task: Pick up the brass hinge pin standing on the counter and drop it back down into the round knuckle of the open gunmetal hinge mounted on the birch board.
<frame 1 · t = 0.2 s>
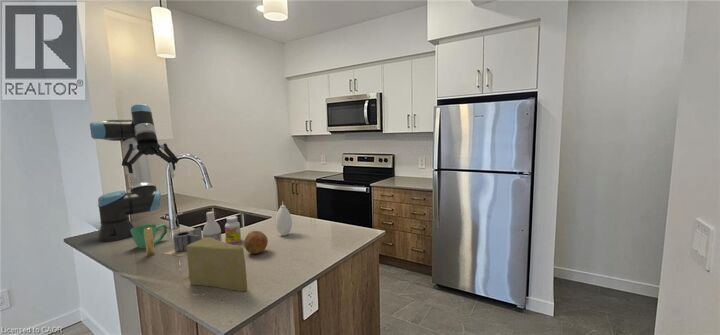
hand: (154, 178, 129), 34 cm above the counter, tool tilted 30°, fingers open, 13 cm apart
onion: (256, 253, 134), on the counter
bath foam: (214, 258, 129), on the counter
hinge knuckle: (184, 248, 137), resting on mounting board
mounting board: (184, 251, 137), on the counter
supplement bottle: (233, 244, 146), on the counter
mug: (151, 247, 145), on the counter
hinge pin: (151, 257, 132), on the counter
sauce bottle: (284, 235, 156), on the counter
cheese: (222, 285, 107), on the counter
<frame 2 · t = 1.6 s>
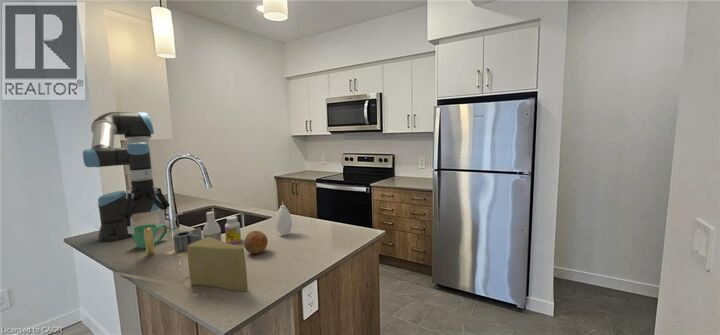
hand: (147, 228, 130), 13 cm above the counter, tool pointing down, fingers open, 13 cm apart
nothing on the counter moved.
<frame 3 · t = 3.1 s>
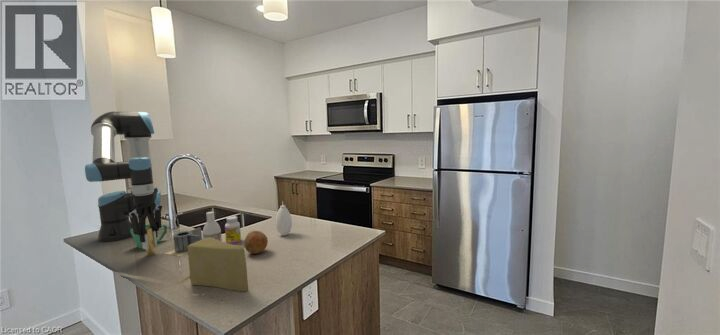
hand: (150, 247, 132), 5 cm above the counter, tool pointing down, fingers closed on hinge pin, 3 cm apart
hinge pin: (151, 257, 132), on the counter, touching gripper
everything else where it was.
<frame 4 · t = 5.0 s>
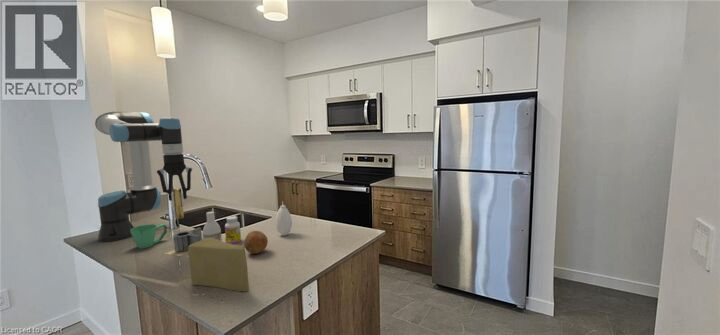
hand: (178, 206, 134), 21 cm above the counter, tool pointing down, fingers closed on hinge pin, 3 cm apart
hinge pin: (180, 217, 135), point 16 cm above the counter, touching gripper
everything else where it was.
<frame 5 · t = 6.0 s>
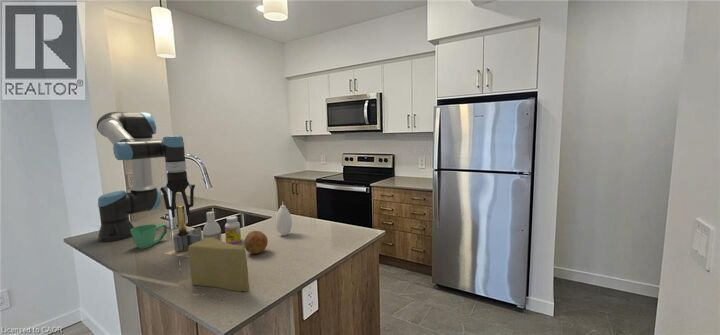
hand: (181, 223, 136), 13 cm above the counter, tool pointing down, fingers closed on hinge pin, 3 cm apart
hinge pin: (183, 234, 136), point 8 cm above the counter, touching gripper
everything else where it was.
when the fingers open (10 cm above the counter, at t = 6.8 s): hinge pin drops 3 cm, resting on mounting board.
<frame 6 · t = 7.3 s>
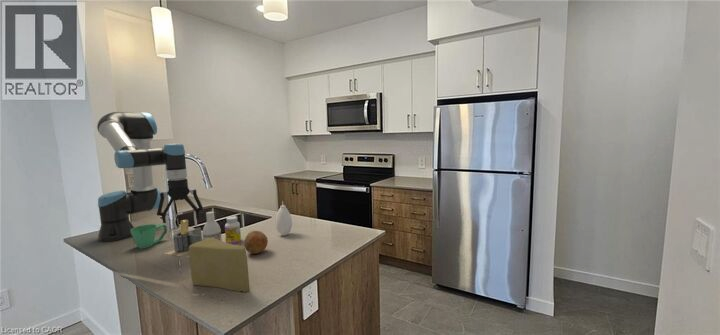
hand: (182, 227, 136), 11 cm above the counter, tool pointing down, fingers open, 10 cm apart
hinge pin: (184, 248, 137), point 1 cm above the counter, tilted 5°, touching mounting board
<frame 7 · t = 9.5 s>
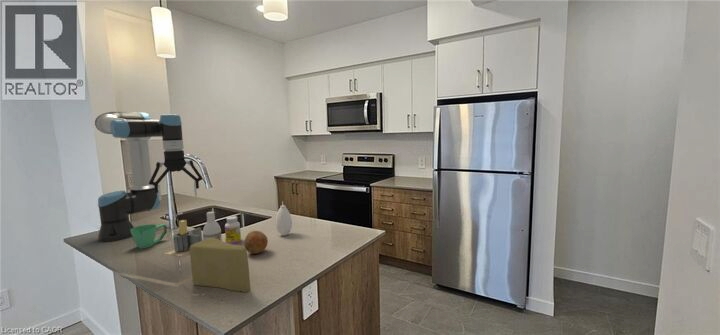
hand: (178, 197, 136), 24 cm above the counter, tool pointing down, fingers open, 13 cm apart
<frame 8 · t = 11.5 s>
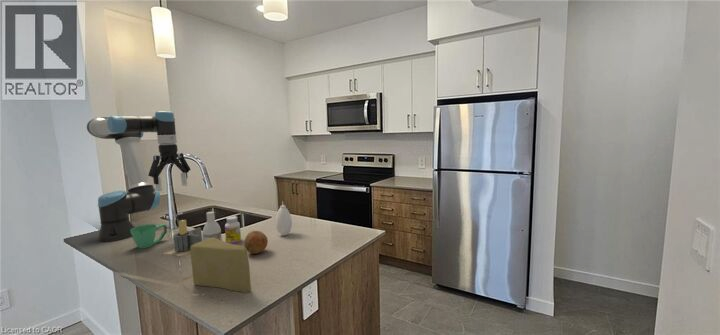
hand: (172, 188, 148), 27 cm above the counter, tool pointing down, fingers open, 13 cm apart
at the end: hinge pin 0.1 cm off-centre on the hinge knuckle, point 0.0 cm above the hinge knuckle's base; hinge pin tilted 1°; the gripper is holding nothing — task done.
